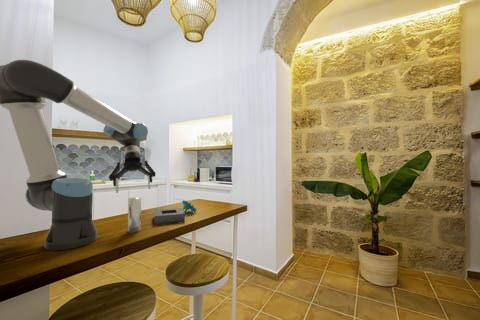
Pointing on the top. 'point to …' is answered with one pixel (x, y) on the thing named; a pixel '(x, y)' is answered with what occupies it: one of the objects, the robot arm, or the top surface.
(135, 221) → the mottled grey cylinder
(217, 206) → the top surface
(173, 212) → the block
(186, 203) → the teal irregular piece
